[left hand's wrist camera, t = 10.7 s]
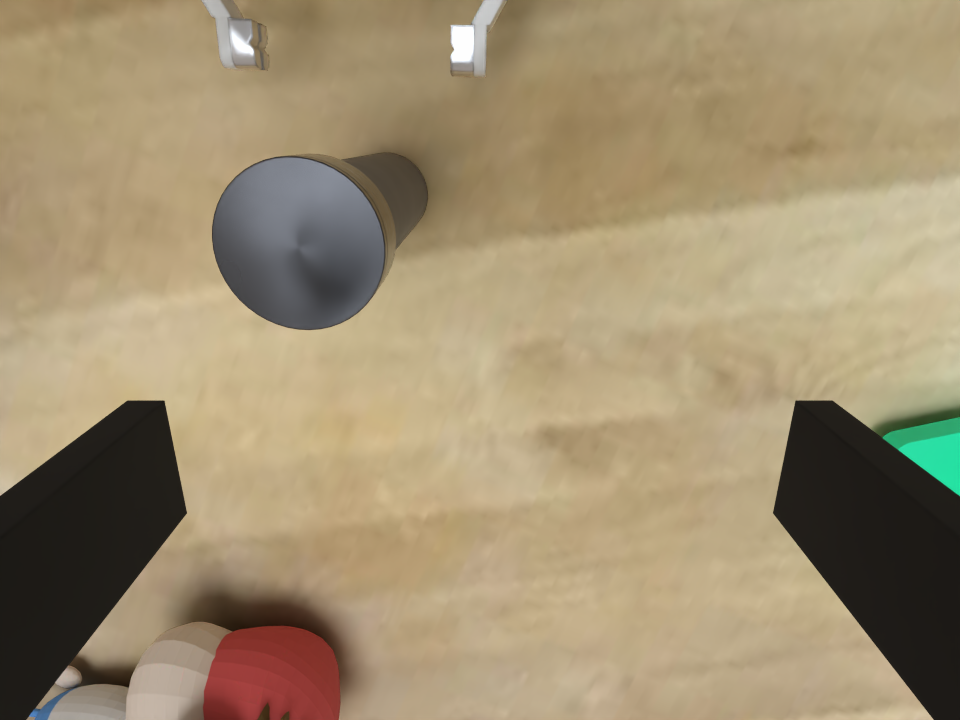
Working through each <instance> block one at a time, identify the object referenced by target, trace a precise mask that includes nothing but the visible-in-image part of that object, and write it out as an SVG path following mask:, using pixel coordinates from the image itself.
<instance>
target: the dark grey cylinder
mask: <svg viewBox="0 0 960 720" xmlns="http://www.w3.org/2000/svg"><path fill="white" fill-rule="evenodd" d="M342 161H344V162H347V163H349V164H351V165H352V166H354V167H355V168H357V169H358V170H360V171H361V172H362V173H364V174H365V175H366V176H367V177H368V178H369V179H370V180H371V181H372V182H373V183H374V184H375V185H376V186H377V188H378V189H379V191H380V192H381V193H382V195H383V196H384V198H385V200H386V202H387V204H388V206H389V208H390V211H391V213H392V217H393V221H394V224H395V232H396V248H395V250H396V249H397V248H398V246H399V245H400V244H401V243H402V241H403V240H404V239H405V238H406V236H407V235H408V234H409V233H410V232H411V230H412V229H413V228H414V227H415V225H416V224H417V223H418V222H419V220H420V219H421V217H422V216H423V214H424V212H425V209H426V206H427V199H428V193H427V187H426V183H425V180H424V178H423V176H422V174H421V172H420V171H419V169H418V168H417V167H416V166H415V165H414V164H413V163H412V162H411V161H409V160H408V159H406V158H404V157H402V156H400V155H397V154H393V153H378V154H372V155H366V156H360V157H354V158H348V159H342Z"/></svg>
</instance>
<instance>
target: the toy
mask: <svg viewBox="0 0 960 720" xmlns="http://www.w3.org/2000/svg"><path fill="white" fill-rule="evenodd" d="M81 682H82V676H81V673H80V672H79V671H78V670H77V669H76V668H75V667H72V666H69V665H68V667H67V668H66V669H65V670H64V672H63V673H62V674H61V676H60V677H59V678H58V679H57V681H56V682H55V683H56V684H57V685H59V686H60V687H63V688H67V689H69V688H74V689H71V690H68V691H66V692H64V693H62V694H60V695H58V696H56V697H55V698H53V699H52V700H50V701H49V702H48V703H47V704H46V705H45V706H44V707H43V708H42V709H34V710H33V712H32V713H31V714H30V715H29V716H30V717H36V718H35V720H339V711H340V682H339V670H338V664H337V661H336V658H335V655H334V652H333V650H332V649H331V647H330V646H329V645H328V644H327V643H326V642H325V641H324V640H323V639H322V638H321V637H319V636H317V635H315V634H314V633H312V632H309V631H307V630H305V629H300V628H296V627H290V626H265V627H255V628H248V629H240V630H236V631H234V632H232V631H230V630H228V629H225V628H223V627H220V626H217V625H214V624H212V623H207V622H192V623H188V624H185V625H181V626H178V627H175V628H172V629H169V630H167V631H166V632H164V633H163V634H162V635H160V636H159V637H158V638H157V639H156V640H155V641H154V642H153V643H152V644H151V645H150V646H149V647H148V648H147V649H146V651H145V652H144V653H143V655H142V656H141V658H140V660H139V662H138V664H137V666H136V668H135V670H134V672H133V675H132V677H131V681H130V685H129V688H128V687H124V686H120V685H110V684H93V685H87V686H82V687H77V686H79V685H80V684H81ZM76 687H77V688H76Z"/></svg>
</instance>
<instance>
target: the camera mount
mask: <svg viewBox="0 0 960 720" xmlns="http://www.w3.org/2000/svg"><path fill="white" fill-rule="evenodd" d="M882 438H883V439H884V440H886V441H887V442H888V443H890V444H891V445H892V446H894V447H895V448H896V449H898V450H899V451H900V452H902V453H903V454H904V455H906V456H907V457H908V458H910V459H911V460H912V461H914V462H915V463H916V464H918V465H919V466H920V467H922V468H923V469H924V470H926V471H927V472H928V473H930V474H931V475H932V476H934V477H935V478H936V479H938V480H939V481H940V482H942V483H943V484H944V485H946V486H947V487H948V488H950V489H951V490H952V491H954V492H955V493H956V494H958V495H959V496H960V417H958V418H953V419H948V420H944V421H939V422H934V423H929V424H924V425H920V426H915V427H910V428H905V429H900V430H896V431H892V432H890V433H888V434H886V435H885V436H884V437H882Z"/></svg>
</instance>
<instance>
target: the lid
mask: <svg viewBox="0 0 960 720" xmlns="http://www.w3.org/2000/svg"><path fill="white" fill-rule="evenodd" d="M212 241H213V250H214V254H215V258H216V261H217V264H218V267H219V269H220V272H221V274H222V276H223V278H224V280H225V281H226V283H227V284H228V286H229V287H230V289H231V290H232V292H233V293H234V294H235V295H236V296H237V297H238V299H239V300H240V301H241V302H242V303H244V304H245V305H246V306H247V307H248V308H249V309H251V310H252V311H253V312H255V313H256V314H257V315H259V316H261V317H263V318H264V319H266V320H268V321H270V322H273V323H275V324H278V325H281V326H284V327H288V328H293V329H299V330H316V329H323V328H328V327H332V326H335V325H337V324H340V323H342V322H344V321H346V320H348V319H350V318H351V317H353V316H354V315H356V314H357V313H358V312H359V311H360V310H361V309H363V308H364V307H365V306H366V305H367V303H368V302H369V301H370V300H371V298H372V297H373V296H374V294H375V293H376V291H377V290H378V289H379V287H380V286H381V284H382V283H383V282H384V280H385V278H386V277H387V275H388V273H389V271H390V268H391V266H392V263H393V259H394V255H395V248H396V232H395V224H394V221H393V217H392V213H391V211H390V208H389V206H388V204H387V202H386V200H385V198H384V196H383V195H382V193H381V192H380V191H379V189H378V188H377V186H376V185H375V184H374V183H373V182H372V181H371V180H370V179H369V178H368V177H367V176H366V175H365V174H364V173H362V172H361V171H360V170H358V169H357V168H355V167H354V166H352V165H351V164H349V163H347V162H344V161H342V160H340V159H337V158H334V157H331V156H326V155H321V154H300V155H291V156H281V157H274V158H270V159H266V160H263V161H260V162H258V163H255V164H253V165H252V166H250V167H248V168H246V169H245V170H243V171H242V172H241V173H240V174H238V175H237V176H236V177H235V178H234V179H233V180H232V181H231V183H230V184H229V185H228V186H227V188H226V189H225V191H224V192H223V194H222V196H221V198H220V200H219V202H218V204H217V207H216V210H215V214H214V219H213V225H212Z"/></svg>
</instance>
